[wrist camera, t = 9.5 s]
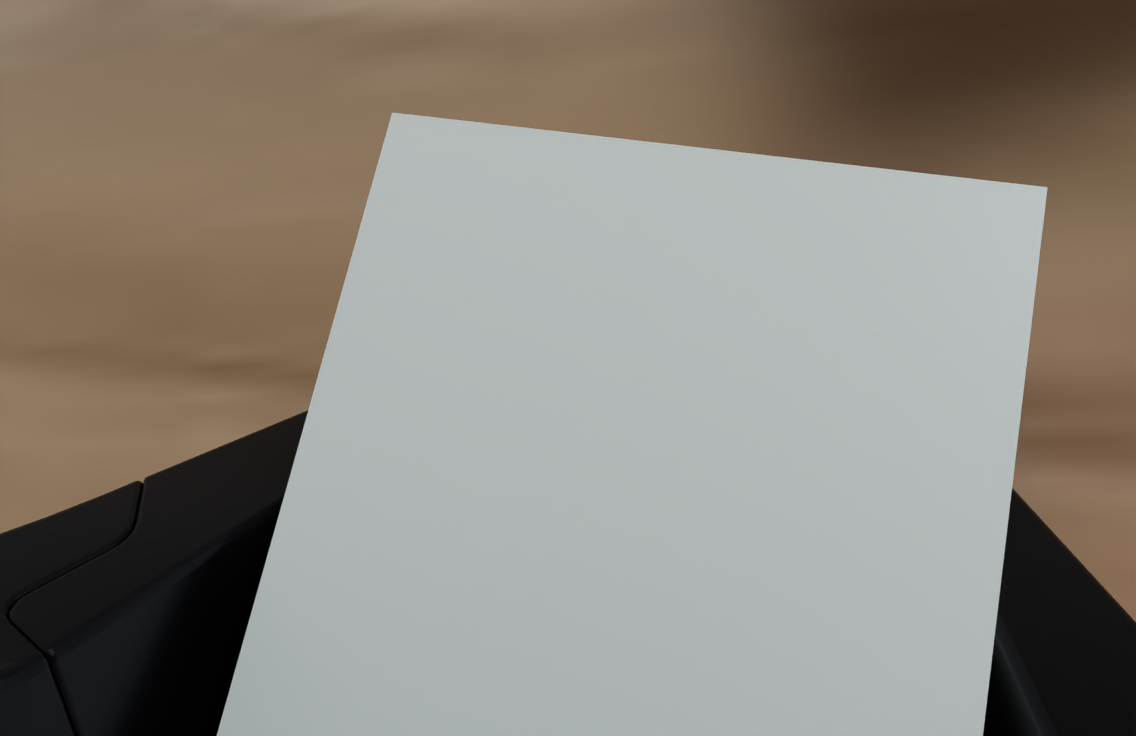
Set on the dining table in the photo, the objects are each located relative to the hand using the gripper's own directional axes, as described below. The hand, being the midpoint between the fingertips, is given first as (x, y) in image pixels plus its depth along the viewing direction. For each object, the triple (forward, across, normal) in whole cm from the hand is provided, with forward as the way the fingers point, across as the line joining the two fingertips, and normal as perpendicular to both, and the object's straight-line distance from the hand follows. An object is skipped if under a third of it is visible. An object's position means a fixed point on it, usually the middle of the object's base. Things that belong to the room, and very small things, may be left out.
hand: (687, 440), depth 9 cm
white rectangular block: (+4, 0, +6) cm, 7 cm away
